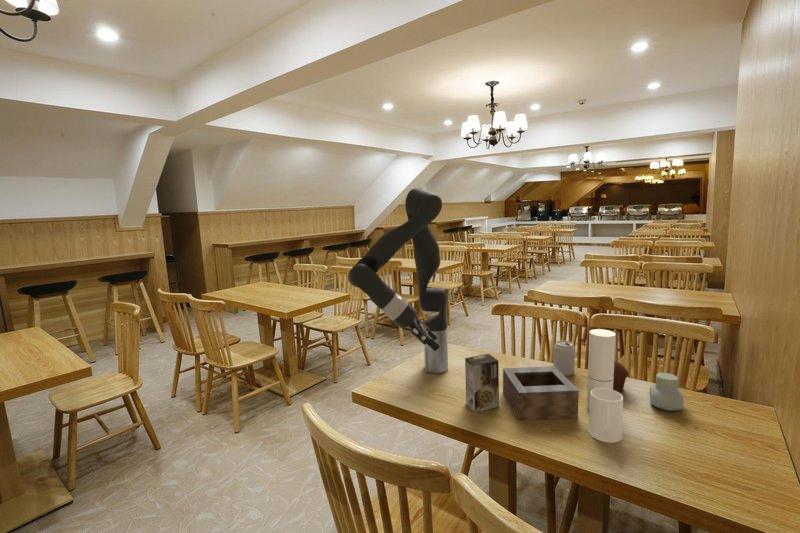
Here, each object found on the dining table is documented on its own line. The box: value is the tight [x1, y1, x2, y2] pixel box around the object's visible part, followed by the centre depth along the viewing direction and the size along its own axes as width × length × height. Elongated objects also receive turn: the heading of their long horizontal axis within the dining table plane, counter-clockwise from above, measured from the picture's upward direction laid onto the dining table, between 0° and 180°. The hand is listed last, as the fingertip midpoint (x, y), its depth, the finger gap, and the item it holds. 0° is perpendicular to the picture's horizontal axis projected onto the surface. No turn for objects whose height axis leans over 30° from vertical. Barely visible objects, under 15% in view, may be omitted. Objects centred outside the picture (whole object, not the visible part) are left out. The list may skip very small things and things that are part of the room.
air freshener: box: [649, 372, 685, 412], centre depth 125 cm, size 11×8×10 cm
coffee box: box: [464, 353, 500, 413], centre depth 129 cm, size 9×6×16 cm
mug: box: [587, 388, 624, 444], centre depth 110 cm, size 12×8×12 cm
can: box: [552, 340, 576, 377], centre depth 152 cm, size 8×8×12 cm
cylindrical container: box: [586, 328, 616, 412], centre depth 124 cm, size 7×7×25 cm
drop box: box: [502, 365, 580, 422], centre depth 129 cm, size 18×18×9 cm
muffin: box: [613, 359, 630, 394], centre depth 138 cm, size 12×11×10 cm
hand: (436, 343), depth 127 cm, fingers open, 8 cm apart
